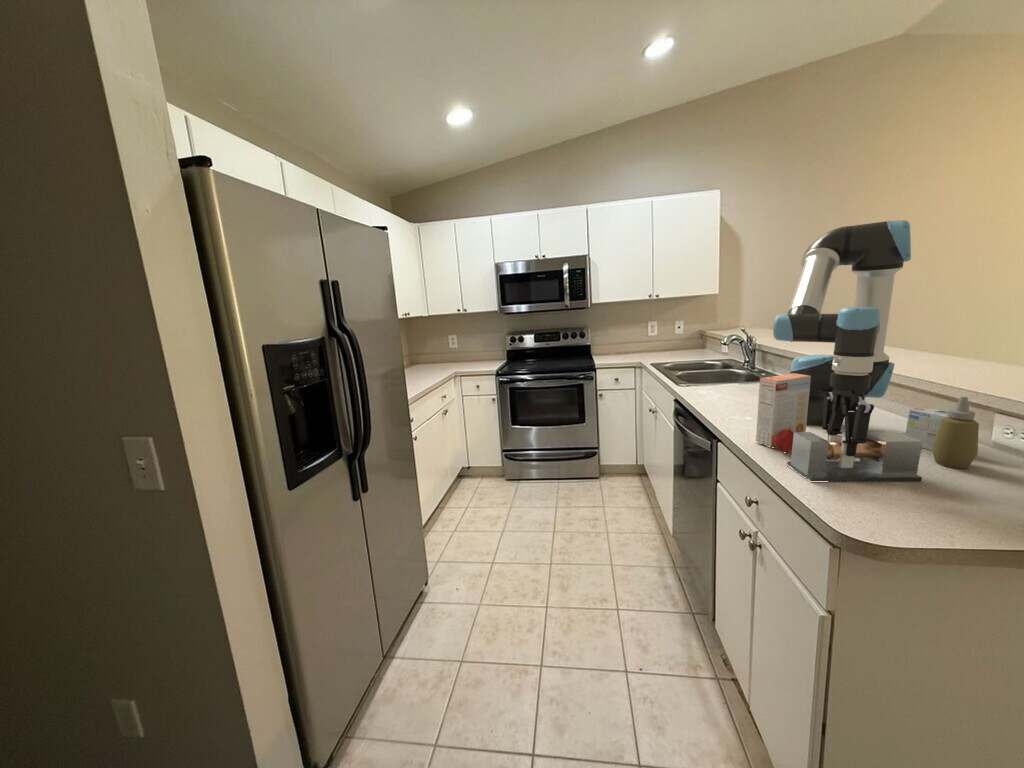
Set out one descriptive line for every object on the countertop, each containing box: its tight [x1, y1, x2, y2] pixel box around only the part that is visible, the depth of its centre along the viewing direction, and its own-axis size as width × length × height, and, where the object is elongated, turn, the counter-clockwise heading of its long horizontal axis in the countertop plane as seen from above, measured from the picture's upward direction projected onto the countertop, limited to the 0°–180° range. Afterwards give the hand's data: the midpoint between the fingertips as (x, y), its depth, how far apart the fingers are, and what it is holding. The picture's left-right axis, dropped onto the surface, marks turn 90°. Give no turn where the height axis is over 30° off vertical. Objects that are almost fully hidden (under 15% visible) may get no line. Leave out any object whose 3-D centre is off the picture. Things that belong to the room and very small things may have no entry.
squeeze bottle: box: [931, 396, 980, 469], centre depth 103 cm, size 8×8×18 cm
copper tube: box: [826, 441, 882, 461], centre depth 101 cm, size 4×18×4 cm, turn 85°
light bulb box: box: [905, 406, 948, 451], centre depth 115 cm, size 11×7×11 cm, turn 17°
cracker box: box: [755, 373, 811, 448], centre depth 123 cm, size 14×6×21 cm, turn 108°
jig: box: [786, 431, 923, 483], centre depth 101 cm, size 10×25×10 cm, turn 85°
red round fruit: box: [774, 427, 794, 454], centre depth 116 cm, size 6×6×8 cm
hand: (839, 462), depth 102 cm, fingers closed on copper tube, 4 cm apart
